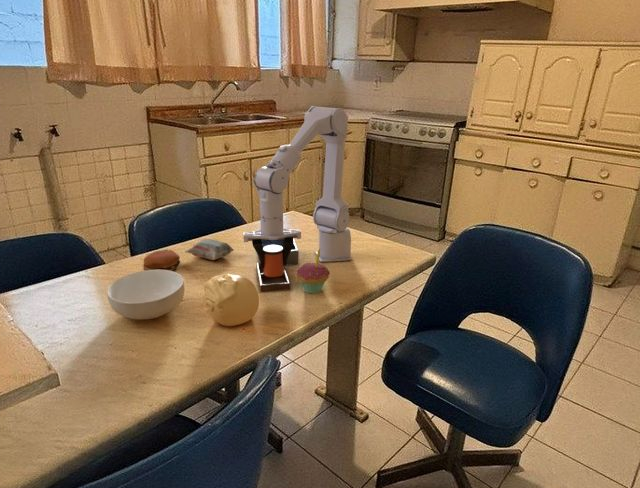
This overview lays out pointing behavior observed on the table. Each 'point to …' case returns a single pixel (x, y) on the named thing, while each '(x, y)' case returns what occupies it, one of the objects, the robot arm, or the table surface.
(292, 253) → the basin
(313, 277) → the cupcake
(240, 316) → the sculpture
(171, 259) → the burger
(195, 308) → the table surface
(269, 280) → the tray
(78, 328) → the table surface
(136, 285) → the cereal bowl
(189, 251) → the packaged food
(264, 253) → the container
